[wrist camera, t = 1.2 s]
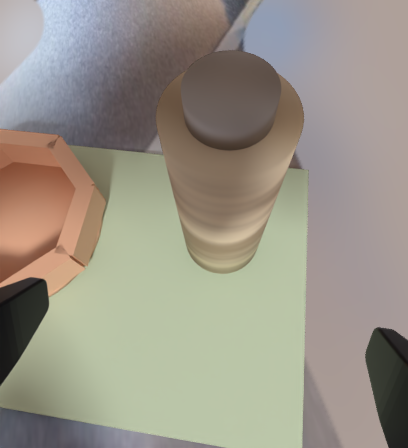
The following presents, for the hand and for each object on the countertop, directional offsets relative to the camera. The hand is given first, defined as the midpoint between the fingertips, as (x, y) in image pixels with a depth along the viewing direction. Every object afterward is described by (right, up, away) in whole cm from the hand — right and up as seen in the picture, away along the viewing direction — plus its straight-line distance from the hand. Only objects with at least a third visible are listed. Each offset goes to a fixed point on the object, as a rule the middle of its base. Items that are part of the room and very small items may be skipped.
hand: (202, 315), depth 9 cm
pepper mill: (+1, +1, +14) cm, 15 cm away
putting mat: (-7, 0, +14) cm, 16 cm away
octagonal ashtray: (-14, +2, +15) cm, 21 cm away
